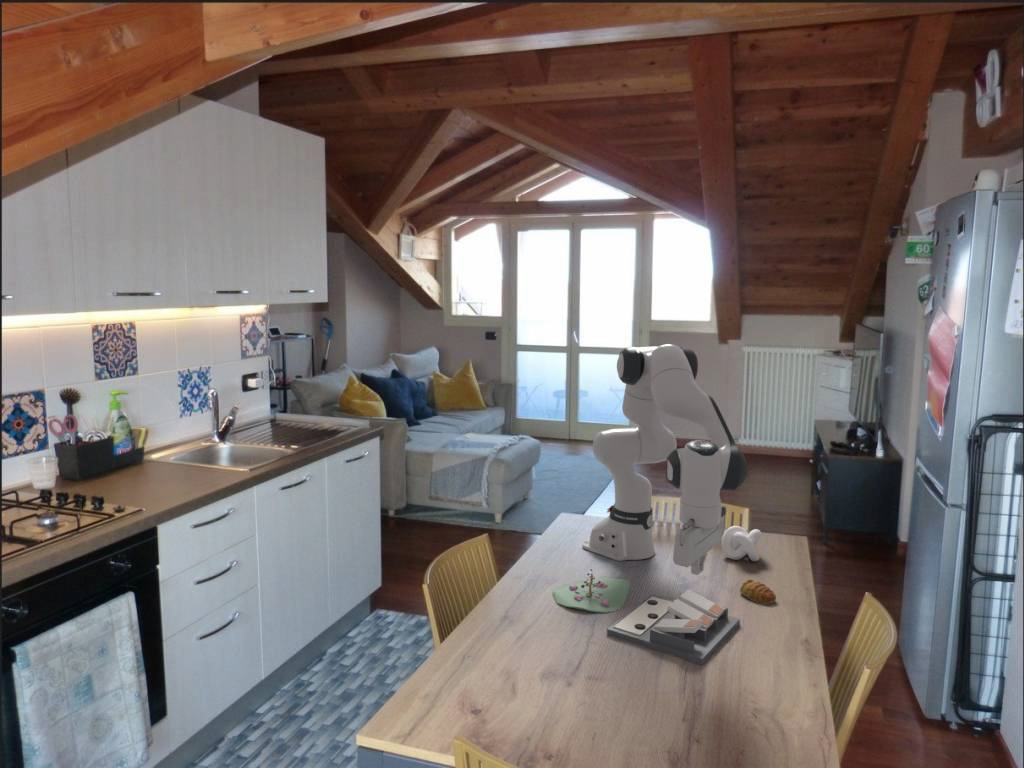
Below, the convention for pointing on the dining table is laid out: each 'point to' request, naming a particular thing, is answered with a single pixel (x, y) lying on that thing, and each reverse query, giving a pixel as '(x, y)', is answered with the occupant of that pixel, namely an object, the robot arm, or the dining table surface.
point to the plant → (593, 594)
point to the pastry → (757, 592)
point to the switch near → (679, 625)
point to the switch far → (701, 604)
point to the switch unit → (682, 645)
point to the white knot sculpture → (740, 543)
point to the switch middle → (689, 613)
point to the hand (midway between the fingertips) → (697, 572)
